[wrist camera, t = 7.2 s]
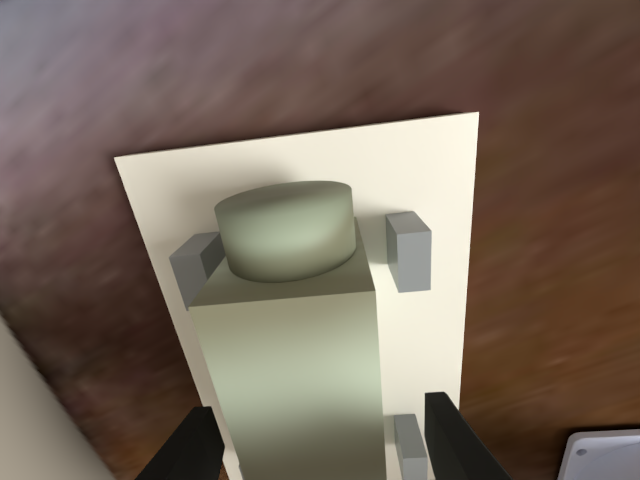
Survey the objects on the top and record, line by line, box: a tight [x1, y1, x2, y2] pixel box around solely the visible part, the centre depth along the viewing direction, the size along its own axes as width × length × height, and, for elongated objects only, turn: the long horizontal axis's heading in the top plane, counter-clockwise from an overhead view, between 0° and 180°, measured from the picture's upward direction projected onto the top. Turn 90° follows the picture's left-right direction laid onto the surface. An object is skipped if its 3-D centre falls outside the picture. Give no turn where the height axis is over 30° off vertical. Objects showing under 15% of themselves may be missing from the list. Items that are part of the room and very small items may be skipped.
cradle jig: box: [114, 112, 479, 480], centre depth 13 cm, size 18×12×3 cm, turn 7°
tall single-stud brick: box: [188, 180, 387, 480], centre depth 11 cm, size 14×4×5 cm, turn 7°
